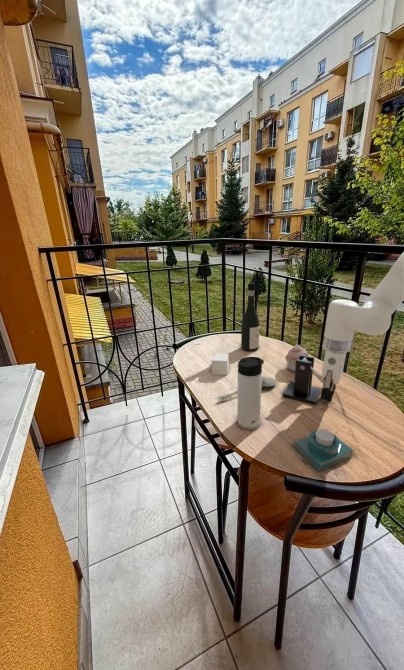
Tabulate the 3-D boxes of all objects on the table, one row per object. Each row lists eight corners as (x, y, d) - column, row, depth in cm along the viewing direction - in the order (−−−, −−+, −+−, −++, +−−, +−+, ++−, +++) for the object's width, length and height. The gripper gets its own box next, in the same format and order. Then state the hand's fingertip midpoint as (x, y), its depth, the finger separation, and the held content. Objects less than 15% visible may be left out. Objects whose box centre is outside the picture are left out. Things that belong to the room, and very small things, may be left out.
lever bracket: (320, 391, 93) (325, 356, 88) (314, 405, 86) (319, 367, 81) (290, 384, 98) (293, 350, 94) (282, 396, 91) (285, 361, 87)
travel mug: (259, 433, 75) (261, 366, 68) (235, 428, 77) (235, 363, 70) (262, 419, 81) (265, 355, 74) (240, 414, 83) (240, 353, 76)
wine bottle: (262, 347, 129) (264, 282, 119) (252, 353, 124) (254, 285, 113) (247, 343, 134) (248, 281, 124) (237, 349, 129) (238, 283, 118)
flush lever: (331, 390, 88) (339, 385, 86) (329, 395, 85) (337, 390, 83) (299, 361, 91) (306, 355, 89) (296, 365, 88) (303, 359, 86)
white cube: (211, 374, 107) (211, 360, 105) (213, 367, 112) (213, 353, 110) (227, 375, 106) (227, 360, 104) (228, 368, 111) (228, 354, 109)
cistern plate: (325, 436, 73) (327, 423, 72) (351, 457, 66) (354, 443, 65) (294, 448, 70) (295, 434, 68) (318, 471, 63) (320, 457, 61)
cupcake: (315, 371, 106) (317, 347, 102) (294, 376, 103) (296, 351, 99) (299, 361, 114) (301, 339, 110) (279, 366, 111) (281, 342, 108)
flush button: (324, 433, 69) (324, 427, 68) (337, 443, 65) (338, 437, 65) (311, 437, 68) (312, 431, 67) (324, 448, 64) (324, 442, 63)
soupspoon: (279, 388, 97) (266, 381, 102) (279, 379, 96) (266, 372, 101) (226, 406, 87) (215, 397, 92) (226, 396, 86) (214, 387, 91)
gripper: (347, 356, 73) (335, 414, 79) (354, 336, 85) (343, 388, 92) (317, 350, 76) (308, 406, 83) (328, 331, 89) (319, 381, 96)
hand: (327, 396), depth 88 cm, fingers closed on flush lever, 3 cm apart
